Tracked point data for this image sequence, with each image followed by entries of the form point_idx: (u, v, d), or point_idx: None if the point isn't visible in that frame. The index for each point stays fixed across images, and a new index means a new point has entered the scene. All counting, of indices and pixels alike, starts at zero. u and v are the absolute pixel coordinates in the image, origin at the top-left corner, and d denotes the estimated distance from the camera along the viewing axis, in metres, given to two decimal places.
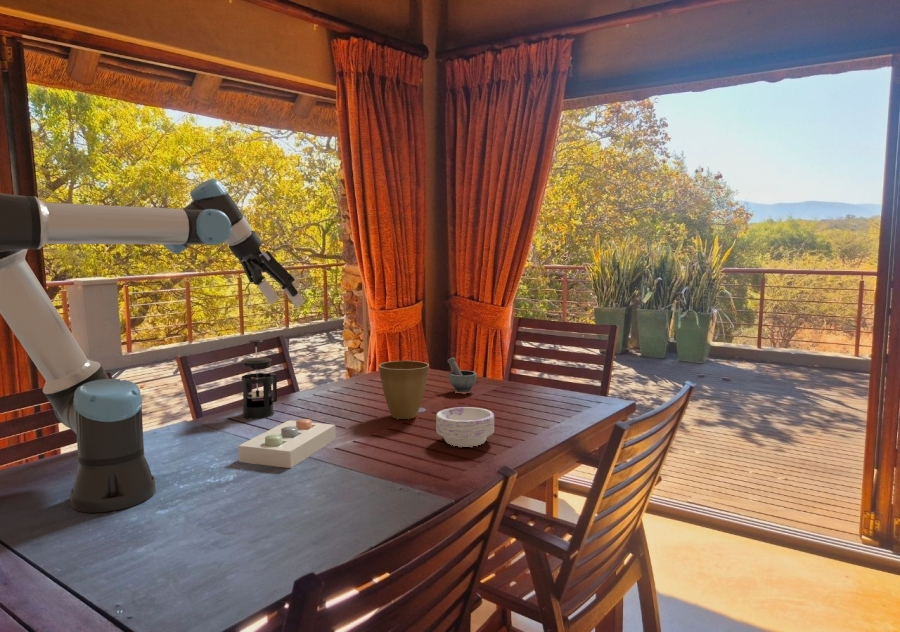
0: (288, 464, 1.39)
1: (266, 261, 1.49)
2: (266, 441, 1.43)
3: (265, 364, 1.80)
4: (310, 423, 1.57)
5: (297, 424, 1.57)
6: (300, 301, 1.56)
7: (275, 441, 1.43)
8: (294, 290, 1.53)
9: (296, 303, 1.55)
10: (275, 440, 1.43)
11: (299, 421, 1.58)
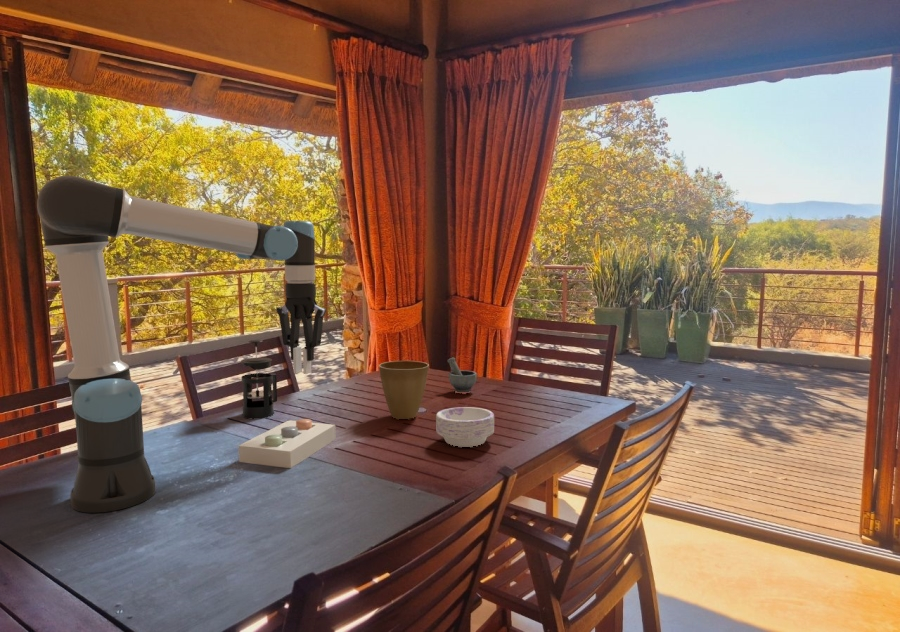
0: (288, 464, 1.39)
1: (319, 316, 1.52)
2: (266, 441, 1.43)
3: (265, 364, 1.80)
4: (310, 423, 1.57)
5: (297, 424, 1.57)
6: (309, 369, 1.56)
7: (275, 441, 1.43)
8: (312, 355, 1.55)
9: (306, 369, 1.55)
10: (275, 440, 1.43)
11: (299, 421, 1.58)
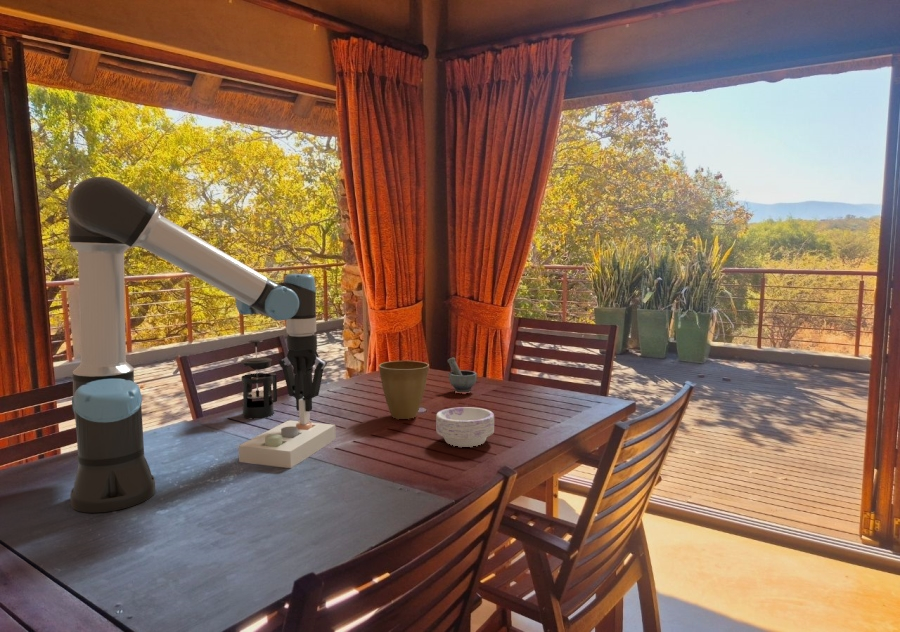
0: (288, 464, 1.39)
1: (320, 369, 1.54)
2: (266, 441, 1.43)
3: (265, 364, 1.80)
4: (310, 426, 1.57)
5: (297, 427, 1.57)
6: (307, 419, 1.58)
7: (275, 441, 1.43)
8: (310, 405, 1.57)
9: (305, 419, 1.57)
10: (275, 440, 1.43)
11: (299, 424, 1.58)
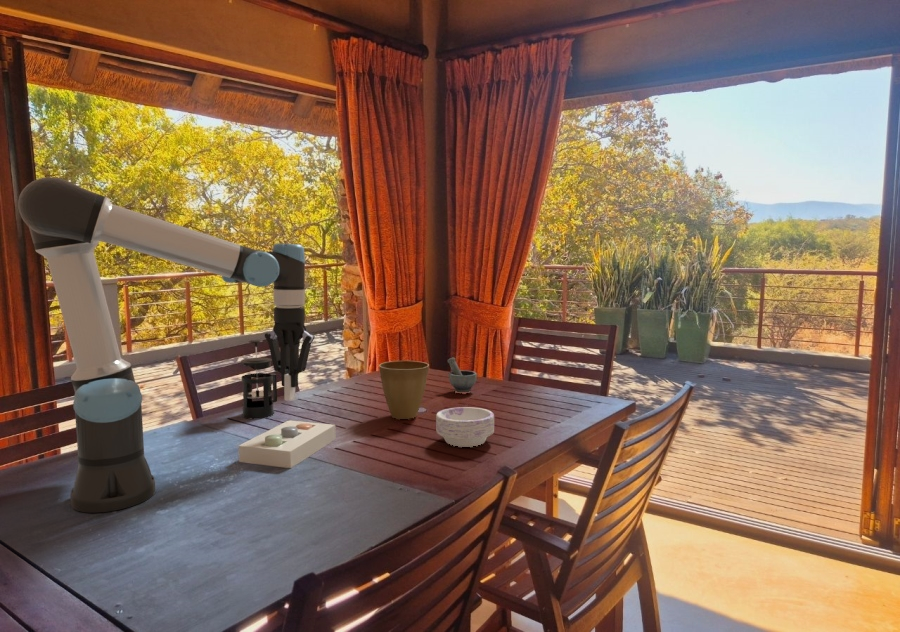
0: (288, 464, 1.39)
1: (307, 343, 1.48)
2: (266, 441, 1.43)
3: (265, 364, 1.80)
4: None
5: None
6: (293, 396, 1.52)
7: (275, 441, 1.43)
8: (296, 381, 1.51)
9: (290, 395, 1.51)
10: (275, 440, 1.43)
11: (299, 426, 1.58)
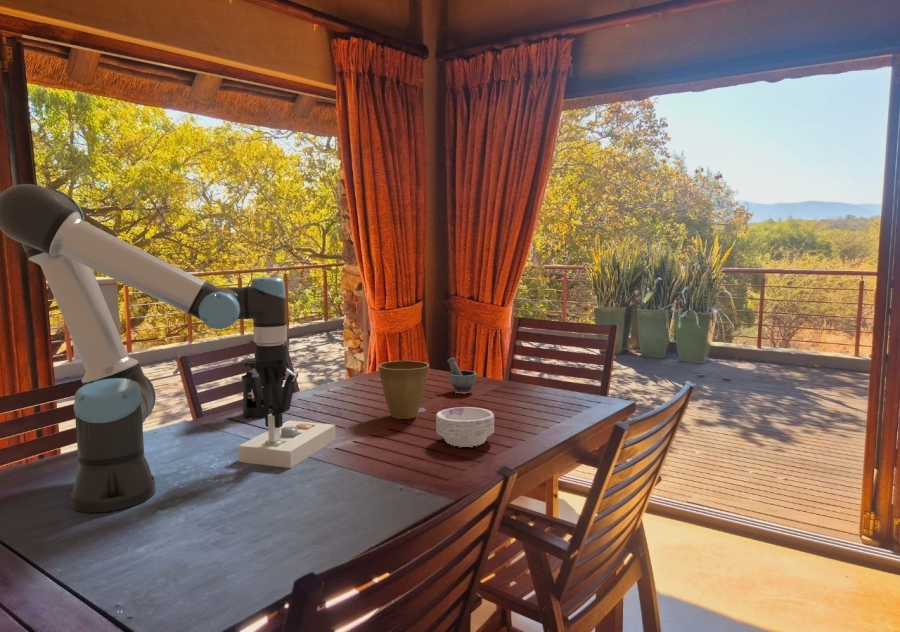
0: (288, 464, 1.39)
1: (290, 382, 1.41)
2: (266, 445, 1.43)
3: None
4: None
5: None
6: (277, 436, 1.45)
7: (276, 446, 1.43)
8: (281, 421, 1.44)
9: (274, 436, 1.44)
10: (275, 444, 1.43)
11: (299, 426, 1.58)
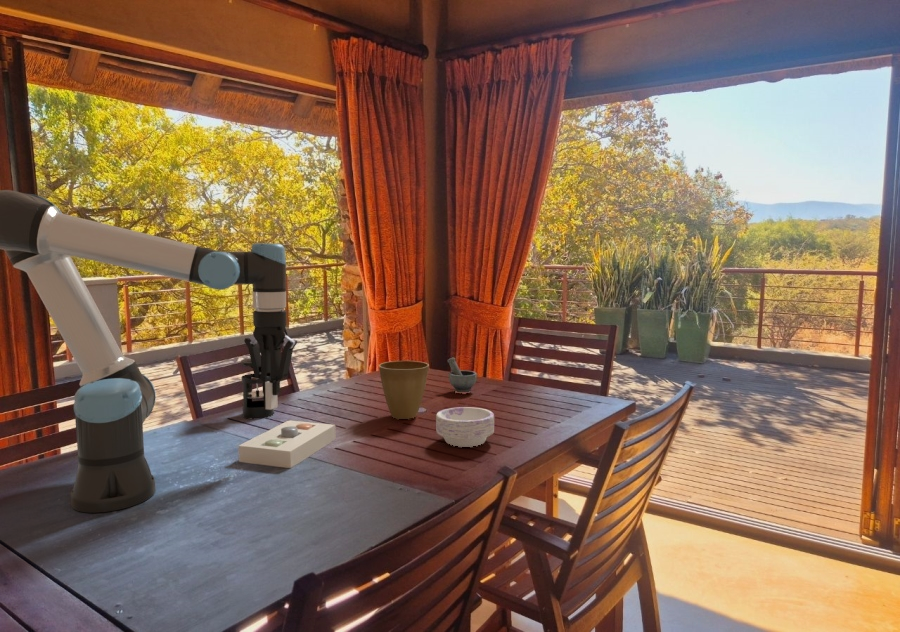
0: (288, 464, 1.39)
1: (289, 349, 1.40)
2: None
3: None
4: None
5: None
6: (275, 404, 1.44)
7: (276, 446, 1.43)
8: (278, 389, 1.43)
9: (272, 404, 1.43)
10: (275, 445, 1.43)
11: (299, 426, 1.58)
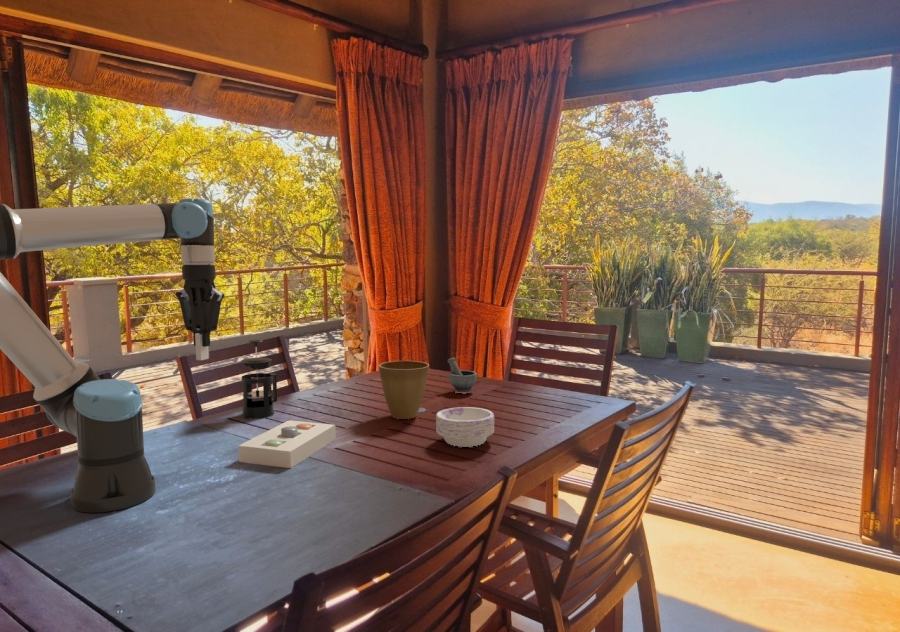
0: (288, 464, 1.39)
1: (215, 301, 1.45)
2: None
3: (265, 364, 1.80)
4: None
5: None
6: (205, 355, 1.49)
7: (276, 446, 1.43)
8: (208, 340, 1.48)
9: (202, 355, 1.48)
10: (275, 445, 1.43)
11: (299, 426, 1.58)
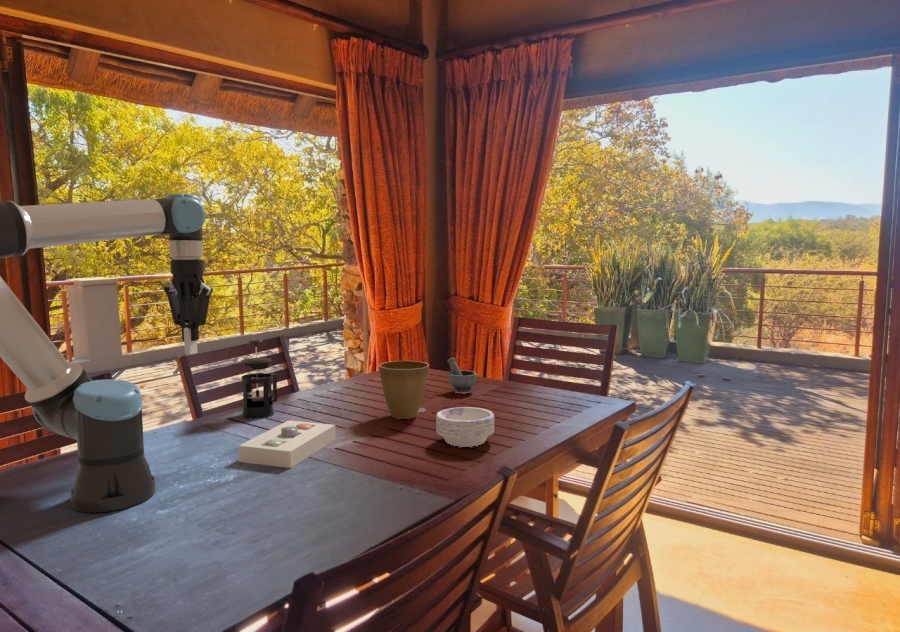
0: (288, 464, 1.39)
1: (204, 295, 1.46)
2: None
3: (265, 364, 1.80)
4: None
5: None
6: (194, 350, 1.50)
7: (276, 446, 1.43)
8: (197, 335, 1.49)
9: (190, 349, 1.49)
10: (275, 445, 1.43)
11: (299, 426, 1.58)
